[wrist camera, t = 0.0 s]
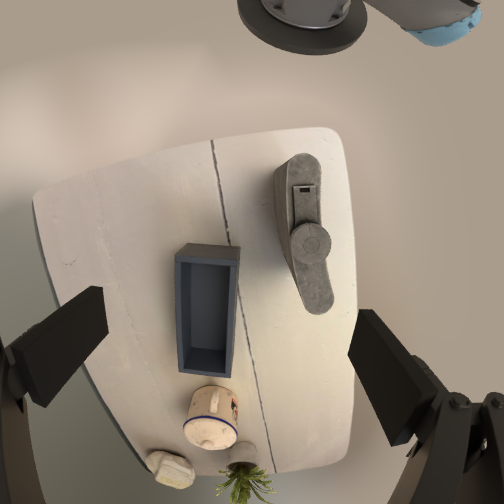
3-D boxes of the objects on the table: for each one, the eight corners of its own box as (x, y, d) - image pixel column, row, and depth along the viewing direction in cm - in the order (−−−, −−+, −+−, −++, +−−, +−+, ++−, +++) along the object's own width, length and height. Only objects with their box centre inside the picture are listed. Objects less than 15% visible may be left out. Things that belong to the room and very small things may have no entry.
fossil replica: (145, 442, 51) (157, 460, 54) (134, 467, 43) (149, 484, 47) (192, 451, 50) (200, 468, 53) (184, 479, 42) (194, 494, 45)
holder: (187, 242, 39) (174, 254, 33) (240, 246, 39) (237, 260, 33) (188, 347, 44) (178, 372, 37) (233, 351, 44) (230, 378, 37)
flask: (281, 268, 40) (300, 330, 23) (266, 168, 37) (276, 153, 19) (306, 264, 40) (341, 322, 23) (293, 164, 37) (325, 148, 19)
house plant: (281, 461, 52) (286, 515, 36) (225, 466, 52) (220, 519, 37) (273, 429, 48) (277, 493, 33) (208, 435, 49) (198, 495, 33)
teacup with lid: (236, 419, 48) (232, 464, 36) (190, 411, 47) (179, 455, 36) (245, 376, 45) (243, 424, 34) (193, 367, 45) (179, 413, 33)
